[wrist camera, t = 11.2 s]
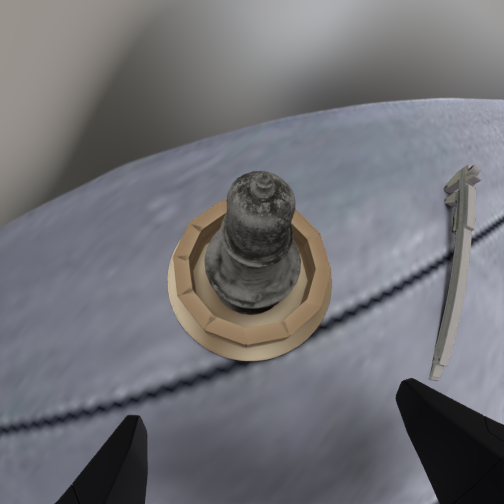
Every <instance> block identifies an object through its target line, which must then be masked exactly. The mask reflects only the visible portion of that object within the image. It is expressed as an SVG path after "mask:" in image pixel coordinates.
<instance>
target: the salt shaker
mask: <svg viewBox="0 0 504 504" xmlns="http://www.w3.org/2000/svg"><path fill="white" fill-rule="evenodd" d="M294 212H295V197H294V193H293V191H292V189H291V188H290V186H289V185H288V184H287V183H286V182H285V181H284V180H283V179H282V178H280V177H279V176H277V175H275V174H273V173H270V172H265V171H253V172H250V173H247V174H244V175H242V176H241V177H239V178H237V180H236V181H235V182H234V183H233V184H232V186H231V188H230V190H229V192H228V196H227V214H226V215H225V217H224V219H223V221H222V223H221V229H220V230H218V232H217V233H216V234H215V235H214V236H213V237H212V238H211V240H210V242H209V245H208V247H207V249H206V253H205V259H204V263H205V273H206V275H207V278H208V280H209V283H210V285H211V286H212V288H213V289H214V290H215V291H216V293H217V295H218V297H219V298H220V300H221V301H222V302H223V303H224V305H226V306H227V307H228V308H230V309H231V310H233V311H235V312H238V313H241V314H247V315H255V314H261V313H264V312H266V311H268V310H271V309H272V308H273V307H274V306H276V305H277V304H278V303H279V302H280V301H281V300H282V299H283V298H285V297H286V296H287V295H288V294H289V293H290V292H291V291H292V289H293V288H294V286H295V285H296V283H297V280H298V278H299V275H300V271H301V258H300V254H299V249H298V247H297V245H296V243H295V241H294V240H293V229H292V225H291V221H292V218H293V215H294Z"/></svg>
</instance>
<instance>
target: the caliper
mask: <svg viewBox="0 0 504 504" xmlns="http://www.w3.org/2000/svg"><path fill="white" fill-rule="evenodd" d="M480 171H481V169H480V168H479V167H477V166H475V165H473V166H472V167H471V166H469V165H467V166H465V167H464V168H462V169H461V170H459V171H458V172H457V173H456V174H455V175H454V176H453V178H452V179H451V180H450V181H449V182H448V183H447V184H446V186H445V188H444V191H446V192H448V193H450V194H451V193H453V192H454V191H456V190H457V189H459V190H458V191H457V192H455V193H453V194H452V195H450V196H448V197H447V198H446V199H445V200H444V203H445V204H447V205H449V206H451V207H454V206H456V209H455V213H454V217H453V228H452V233H454V234H456V238H455V248H454V256H453V264H452V271H451V277H450V283H449V289H448V294H447V299H446V304H445V309H444V313H443V318H442V322H441V326H440V330H439V334H438V338H437V342H436V346H435V352H434V357H433V362H432V364H433V367H432V370H431V373H430V377H429V379H431V380H435V381H439V378H441V375H442V372H443V369H444V366H448V363H449V360H450V356H451V353H452V349H453V345H454V341H455V337H456V333H457V329H458V324H459V320H460V315H461V310H462V305H463V299H464V294H465V287H466V281H467V274H468V266H469V257H470V247H471V235H472V231H473V230H474V227H475V206H476V188H474V187H473V186H474V185H475V184H476V183H478V182H479V181H481V179H480V178H479V177H477V175H478V174H479V173H480Z"/></svg>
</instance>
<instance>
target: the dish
mask: <svg viewBox="0 0 504 504" xmlns="http://www.w3.org/2000/svg"><path fill="white" fill-rule="evenodd" d="M226 214H227V200H224V201H221V202H218V203H217V204H215V205H214V206H212V207H211V208H209V209H208V210H206V211H205V212H204V213H202V214H201V215H199V216H198V217H196V218H195V219H194V220H192V221H191V222H190V223H189V224H188V226H187V228H186V230H185V233H184V235H183V237H182V238H181V240H180V241H179V243H178V245H177V246H176V248H175V250H174V253H173V255H172V258H171V261H170V265H169V271H168V292H169V297H170V301H171V305H172V308H173V310H174V312H175V314H176V316H177V319H178V320H179V322H180V323H181V325H182V326H183V328H184V329H185V330H186V331H187V332H188V333H189V335H190V336H191V337H192V338H193V339H195V340H196V341H197V342H198V343H199V344H201V345H202V346H203V347H205V348H206V349H208V350H210V351H211V352H213V353H216V354H218V355H220V356H223V357H226V358H230V359H233V360H240V361H260V360H267V359H271V358H274V357H278V356H280V355H282V354H285V353H287V352H289V351H291V350H293V349H294V348H296V347H298V346H299V345H300V344H302V343H303V342H304V341H305V340H307V339H308V338H309V337H310V336H311V334H312V333H313V332H314V331H315V330H316V329H317V327H318V326H319V324H320V323H321V321H322V319H323V317H324V315H325V313H326V311H327V308H328V305H329V302H330V296H331V288H332V279H331V268H330V265H329V262H328V258H327V255H326V251H325V248H324V245H323V241H322V238H321V235H320V233H319V232H318V231H317V230H316V229H315V228H314V227H313V226H312V225H311V224H310V223H309V222H308V221H307V220H306V219H305V218H304V217H303V216H302V215H301V214H300V213H299V212H298V211H297V210H295V212H294V215H293V218H292V221H291V225H292V229H293V240H294V241H295V243H296V245H297V247H298V249H299V254H300V258H301V271H300V275H299V278H298V280H297V283H296V285H295V286H294V288H293V289H292V291H291V292H290V293H289V294H288V295H287V296H286V297H285V298H283V299H282V300H281V301H280V302H279V303H278V304H277V305H276V306H274V307H273V308H272V309H271V310H268V311H266V312H264V313H261V314H255V315H247V314H241V313H238V312H235V311H233V310H231V309H230V308H228V307H227V306H226V305H224V303H223V302H222V301H221V300H220V298H219V297H218V295H217V293H216V291H215V290H214V289H213V288H212V286H211V285H210V283H209V280H208V278H207V275H206V273H205V263H204V259H205V253H206V249H207V247H208V245H209V242H210V240H211V238H212V237H213V236H214V235H215V234H216V233H217V232H218V230H220V229H221V223H222V221H223V219H224V217H225V215H226Z"/></svg>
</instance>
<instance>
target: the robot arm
mask: <svg viewBox="0 0 504 504" xmlns="http://www.w3.org/2000/svg"><path fill="white" fill-rule="evenodd" d="M396 402H397V405H398V408H399V411H400V413H401V416H402V419H403V422H404V425H405V428H406V430H407V433H408V435H409V437H410V439H411V442H412V444H413V446H414V448H415V450H416V452H417V454H418V456H419V458H420V461H421V463H422V465H423V467H424V469H425V472H426V474H427V476H428V478H429V481H430V483H431V485H432V487H433V490H434V492H435V494H436V497H437V499H438V501H439V504H504V425H503V424H501V423H498V422H496V421H494V420H492V419H490V418H488V417H486V416H483V415H482V414H480V413H478V412H476V411H474V410H472V409H470V408H468V407H466V406H464V405H462V404H461V403H459V402H457V401H455V400H453V399H451V398H449V397H447V396H445V395H443V394H442V393H440V392H438V391H436V390H434V389H432V388H430V387H428V386H427V385H425V384H423V383H421V382H419V381H417V380H415V379H413V378H409V379H406V380H403V381H402V382H401V384H400V386H399V389H398V391H397V394H396ZM147 475H148V462H147V430H146V428H145V425H144V423H143V421H142V419H141V417H140V416H139V415H127V416H126V417H125V419H124V420H123V421H122V422H121V424H120V425H119V426H118V427H117V429H116V430H115V431H114V432H113V434H112V435H111V436H110V437H109V438H108V440H107V441H106V442H105V443H104V445H103V446H102V447H101V448H100V450H99V451H98V452H97V453H96V455H95V456H94V457H93V458H92V460H91V461H90V462H89V463H88V465H87V466H86V467H85V468H84V470H83V471H82V472H81V473H80V474H79V476H78V477H77V478H76V479H75V481H74V482H73V483H72V484H73V485H70V487H69V488H68V489H67V490H66V492H65V493H64V494H63V495H62V496H61V497H60V499H59V500H58V501H57V502H56V503H55V504H145V497H146V486H147Z"/></svg>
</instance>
